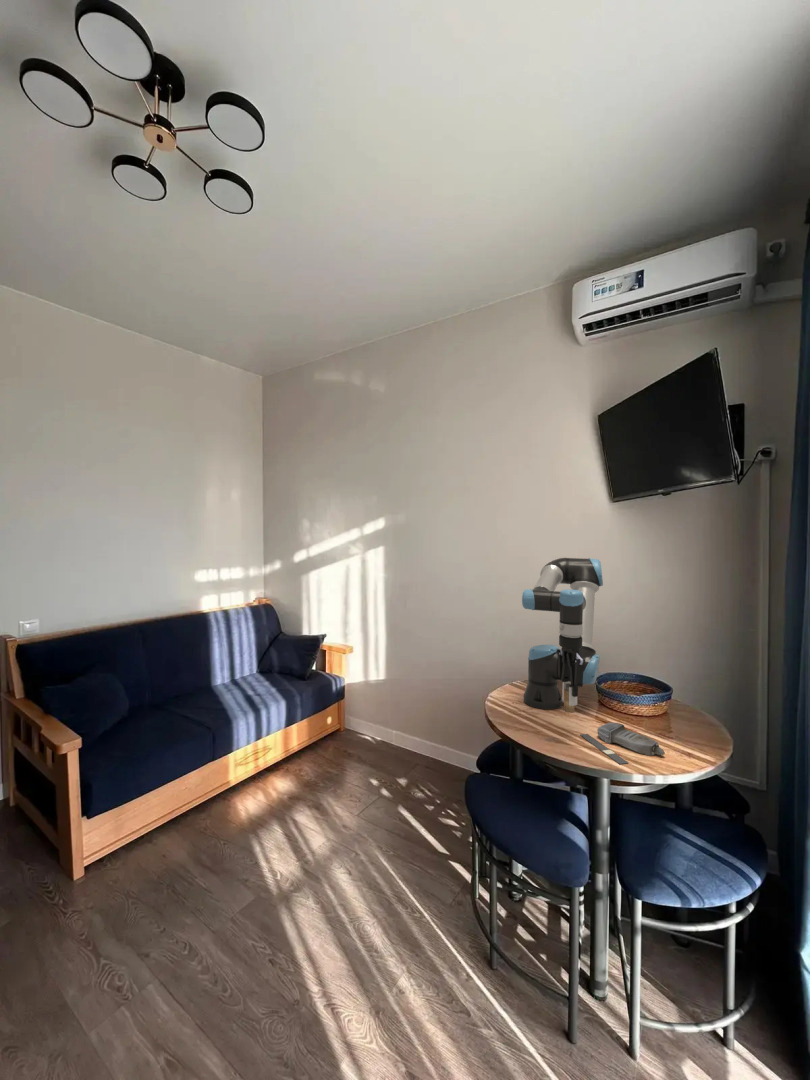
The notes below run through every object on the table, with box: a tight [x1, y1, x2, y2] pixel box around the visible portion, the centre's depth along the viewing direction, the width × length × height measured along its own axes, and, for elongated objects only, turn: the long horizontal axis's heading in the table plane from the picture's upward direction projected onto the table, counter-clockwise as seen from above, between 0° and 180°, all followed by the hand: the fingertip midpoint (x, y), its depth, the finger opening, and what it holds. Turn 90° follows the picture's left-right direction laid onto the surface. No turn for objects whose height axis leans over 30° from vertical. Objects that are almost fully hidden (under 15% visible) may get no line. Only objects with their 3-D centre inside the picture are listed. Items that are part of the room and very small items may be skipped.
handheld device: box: [596, 722, 665, 757], centre depth 146 cm, size 10×20×5 cm, turn 39°
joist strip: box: [579, 733, 629, 765], centre depth 144 cm, size 20×3×1 cm, turn 13°
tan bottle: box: [563, 683, 576, 713], centre depth 154 cm, size 4×4×9 cm
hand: (569, 702), depth 154 cm, fingers closed on tan bottle, 3 cm apart
